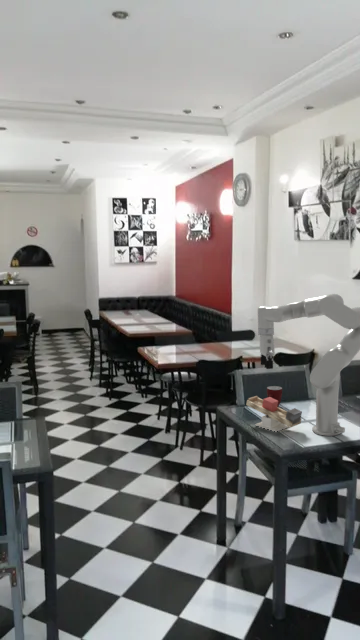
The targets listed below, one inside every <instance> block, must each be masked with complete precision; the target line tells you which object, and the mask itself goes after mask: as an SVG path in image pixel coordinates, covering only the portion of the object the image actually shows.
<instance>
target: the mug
mask: <svg viewBox="0 0 360 640" xmlns="http://www.w3.org/2000/svg"><path fill="white" fill-rule="evenodd" d="M266 395H267V398H268V397H271V398H273V399H275V400H278V405H277V407H279V405H280V404H281V401H282V398H283V397H282V396H283V387H281V386H276V385H273V386H272V385H271V386H267V387H266Z"/></svg>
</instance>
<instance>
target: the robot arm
mask: <svg viewBox="0 0 360 640" xmlns="http://www.w3.org/2000/svg"><path fill="white" fill-rule="evenodd" d="M321 316H325V317H327V319H330V320H331V321H333V322H334V323H336V324H337V325H339V326H341V327H343V328H344V329H347V330H348V331H347V333H346V334H345V335H344V336H343V338H342V339H341V340H340V342H339V343H338V344H336V345H335V346H334V347H333V348H330V349H329V350H327V351H326V353H324V355H323V356H322V357H321V358H320V360H319V361H318V362H317V364H316V365H315V366H314V367H313V369H312V370H311V373H310V375H309V380H310V383H311V385H312V386H314V388H316V395H315V396H316V398H315V399H316V400H315V401H316V402H315V425H314V426H312V429H311V430H312V432H313V433H314V434H316V435H320V436H325V437H327V436H328V437H331V436H332V437H333V436H338V435H340V434H341V433H343V434H345V432H346V427H345V426H341V424H340V423H341V422H339V421H338V420H339V413H338V412H339V390H340V389H339V388H340V381H341V380H340V379H341V371H342V370H343V369H344V368H346V367H348V366H349V365H350V364H351V362H352V361H353V359H354V358H355V357H356V355H357V354H358V353H359V351H360V307H359V306H357V307H352V308H350V307H349V306H348V305H346V304H345V302H344V299H343V297H342V296H341V295H339V294H338V293H331V294H325V295H320V296H318V297H317V296H315V297H311V298H310V297H309V298H305V299H304V300H301V301H297V302H291V303H288V304H283V305H282V304H281V305H277V306H272V305H261V306H259V307H257V334H258V336H259V353H260V366H265V368H266V369H267V370H273V369H274V356H275V353H276V351H275V340H274V335H275V329H274V328H275V326H274V325H275V323H282V322H286V321H290V320H295V319H299V318H300V319H301V318H314V317H321Z"/></svg>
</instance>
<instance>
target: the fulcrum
mask: <svg viewBox="0 0 360 640" xmlns="http://www.w3.org/2000/svg"><path fill="white" fill-rule="evenodd" d="M254 425H256V426H259V427H258V428H260V427H262V428H261V429H263V428H265V429H264V430H267V429H269V430H268V431H270V430H272V431H271V432H274V431H275V432H274V433H278V432H280V431H282V429H283V430H284V429H287V428H289V427H288V426H287V425H285V424H283V423H281V422H279V421H277V420H275V419H273V418H271V417H266V415H265V414H264V415H263V416H261V422H257V423H255V424H254ZM256 426H255V427H256ZM277 431H278V432H277Z"/></svg>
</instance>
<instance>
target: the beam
mask: <svg viewBox="0 0 360 640" xmlns="http://www.w3.org/2000/svg"><path fill="white" fill-rule="evenodd" d="M245 405H246V406H247V407H250V408H251V409H253V410H255V411H258V412H259V413H262V414H263V415H264V416H265V415H266V417H271V418H273V419H275V420H277V421H279V422H281V423H283V424H285V425H287V426H288V427H287V428H290V429H291V428H293V427H295V426H298V425H300V424H301V423H302V413H303V411H302V410H299V409H298V408H296V407H295V408H291V409H289V410H285V409H284V408H283V409H282V408H281V407H279V406H278V407H277V410H276V411H274V412H271V411H269V410H267V409H265V408H263V407H262V405H263V399H262V398H260V397H259V396H258V395H255V396H254V395H253V396H251V397H248V398H247V400H246V404H245Z"/></svg>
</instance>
